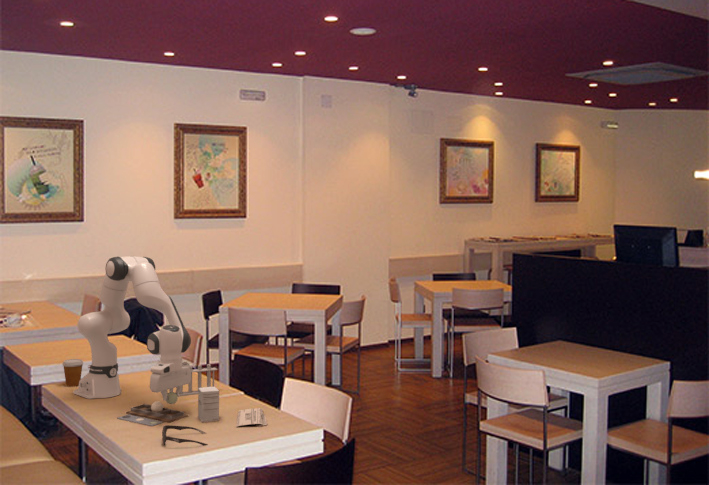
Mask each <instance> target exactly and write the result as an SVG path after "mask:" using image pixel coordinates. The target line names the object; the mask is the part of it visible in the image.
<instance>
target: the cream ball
mask: <svg viewBox="0 0 709 485" xmlns="http://www.w3.org/2000/svg"><path fill="white" fill-rule="evenodd" d="M150 405H151V410H152V412H155V413H158V412H161V411H162V410H163V408H164V404H163V402H161V401H159V400H156V401H154V402H152V404H150Z"/></svg>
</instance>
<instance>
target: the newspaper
mask: <svg viewBox="0 0 709 485" xmlns="http://www.w3.org/2000/svg"><path fill="white" fill-rule="evenodd" d="M263 412H264V410H263V408H260V407H258V408H246V409H240V410H238V411H237V419H236V428H238V427H243V426H248V425H255V424H256V425H257V426H256V425H255V427H256V428H257V427H258V428H261V427H262V426H267V425H268V422H267V418H266V414H264V413H263Z"/></svg>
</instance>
